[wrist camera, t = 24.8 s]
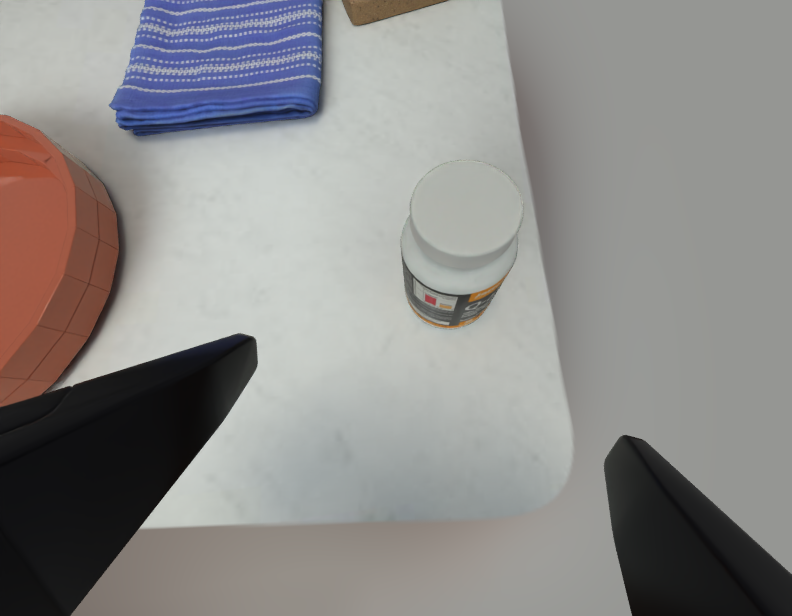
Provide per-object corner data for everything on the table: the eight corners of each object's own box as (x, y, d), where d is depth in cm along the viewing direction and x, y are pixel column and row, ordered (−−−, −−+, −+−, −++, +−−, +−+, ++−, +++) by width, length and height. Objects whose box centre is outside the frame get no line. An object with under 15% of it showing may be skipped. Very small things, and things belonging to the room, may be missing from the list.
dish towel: (124, 145, 29) (94, 117, 27) (165, -37, 36) (145, -73, 34) (324, 126, 29) (314, 96, 26) (326, -55, 36) (318, -94, 33)
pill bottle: (474, 343, 22) (515, 290, 13) (392, 313, 23) (375, 242, 14) (500, 268, 24) (554, 170, 14) (422, 242, 25) (425, 134, 15)
